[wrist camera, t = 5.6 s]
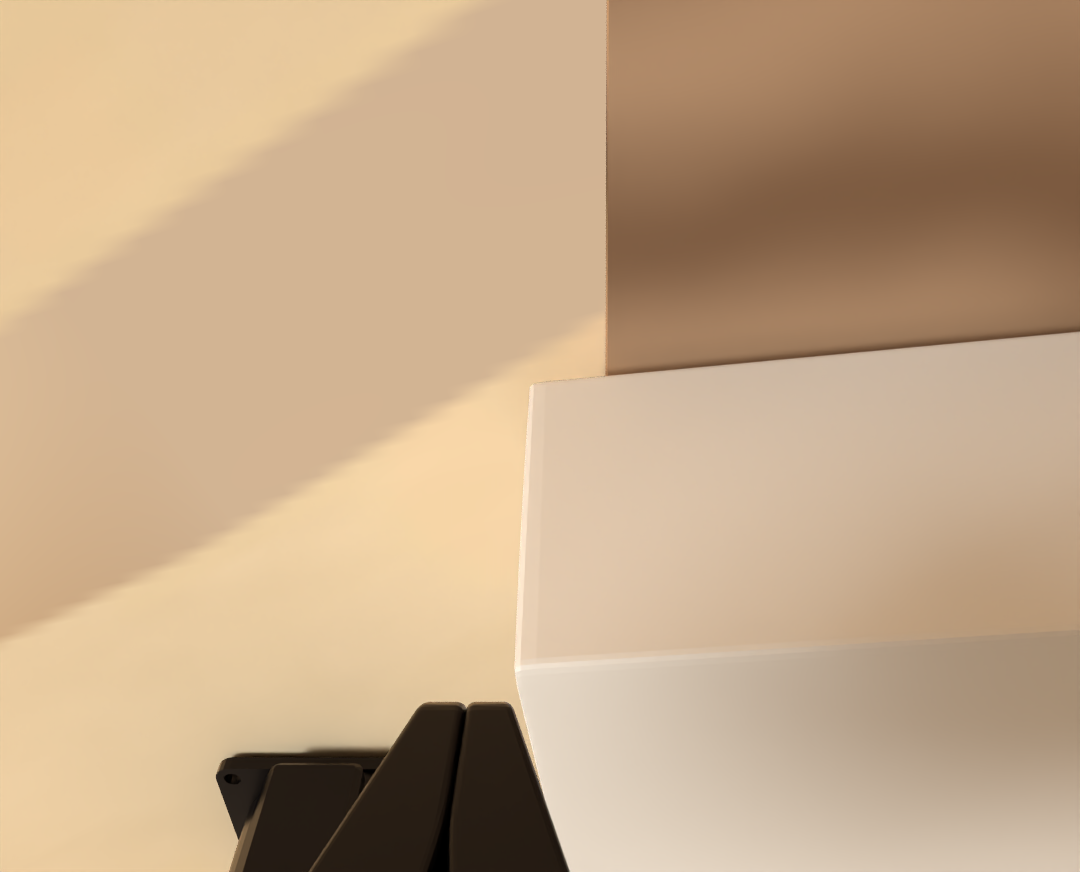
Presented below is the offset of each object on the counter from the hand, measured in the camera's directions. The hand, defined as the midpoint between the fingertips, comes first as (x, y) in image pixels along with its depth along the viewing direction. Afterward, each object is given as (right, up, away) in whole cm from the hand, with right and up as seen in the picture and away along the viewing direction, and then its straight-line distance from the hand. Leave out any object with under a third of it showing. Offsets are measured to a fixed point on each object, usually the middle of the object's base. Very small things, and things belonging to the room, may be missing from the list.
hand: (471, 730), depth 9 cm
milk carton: (0, -1, +10) cm, 10 cm away
